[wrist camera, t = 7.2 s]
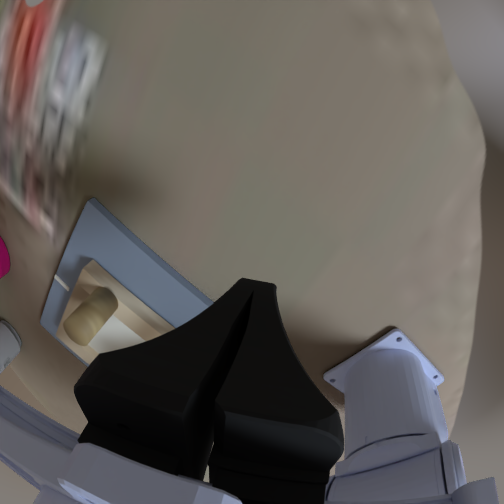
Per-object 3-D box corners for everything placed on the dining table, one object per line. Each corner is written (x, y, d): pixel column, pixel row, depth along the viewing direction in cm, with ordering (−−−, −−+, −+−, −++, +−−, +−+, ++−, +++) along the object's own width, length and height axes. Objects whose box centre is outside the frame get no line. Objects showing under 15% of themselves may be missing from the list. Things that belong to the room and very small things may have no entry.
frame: (241, 374, 26) (225, 429, 21) (176, 413, 31) (158, 455, 26) (93, 257, 23) (48, 297, 18) (63, 327, 29) (31, 361, 24)
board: (297, 366, 26) (296, 374, 25) (182, 427, 35) (179, 432, 34) (93, 197, 22) (87, 200, 21) (43, 319, 31) (39, 323, 30)
